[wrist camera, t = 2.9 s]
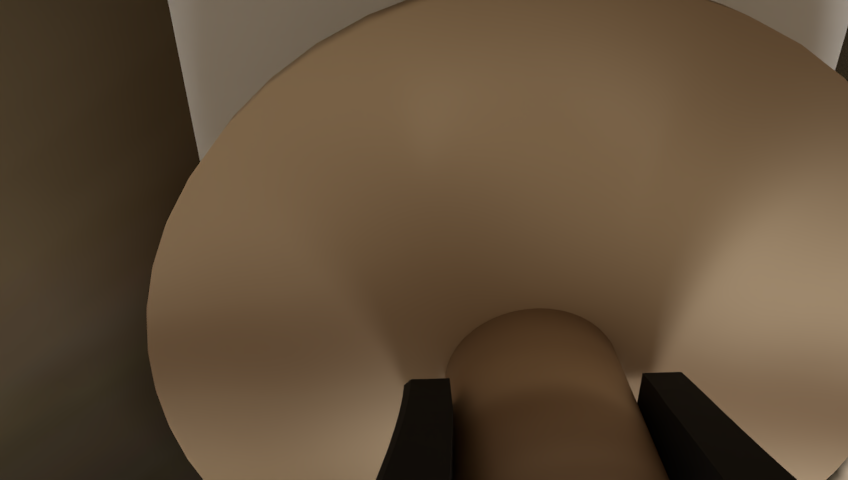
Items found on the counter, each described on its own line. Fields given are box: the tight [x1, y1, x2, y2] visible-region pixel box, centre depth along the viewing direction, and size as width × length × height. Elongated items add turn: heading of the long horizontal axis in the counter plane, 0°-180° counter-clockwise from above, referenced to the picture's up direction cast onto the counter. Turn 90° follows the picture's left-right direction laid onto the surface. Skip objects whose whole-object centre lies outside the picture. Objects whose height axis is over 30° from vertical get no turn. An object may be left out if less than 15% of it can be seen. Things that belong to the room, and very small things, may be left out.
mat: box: [168, 0, 848, 162], centre depth 15 cm, size 13×13×1 cm
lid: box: [146, 0, 848, 480], centre depth 10 cm, size 13×13×5 cm
